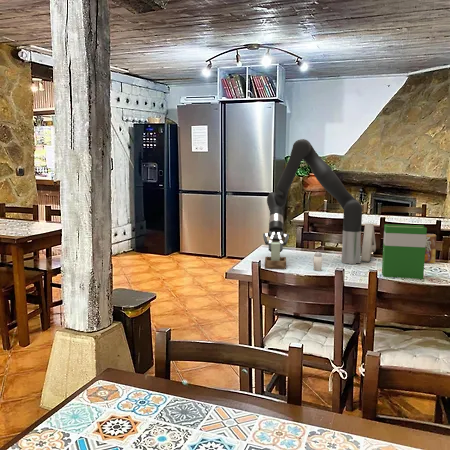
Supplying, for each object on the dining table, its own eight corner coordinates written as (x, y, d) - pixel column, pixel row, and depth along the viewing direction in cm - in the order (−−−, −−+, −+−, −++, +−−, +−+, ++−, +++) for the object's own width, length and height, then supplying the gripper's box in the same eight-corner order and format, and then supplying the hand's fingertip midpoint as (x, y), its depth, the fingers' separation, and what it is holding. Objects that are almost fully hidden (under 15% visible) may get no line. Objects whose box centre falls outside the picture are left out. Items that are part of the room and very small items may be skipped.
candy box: (432, 261, 244) (434, 233, 242) (435, 263, 240) (437, 235, 238) (415, 261, 246) (417, 233, 243) (417, 262, 241) (419, 234, 239)
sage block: (279, 259, 234) (280, 242, 233) (279, 261, 230) (280, 244, 229) (270, 259, 235) (271, 242, 233) (270, 261, 230) (271, 243, 229)
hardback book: (420, 275, 217) (423, 225, 213) (423, 279, 210) (426, 228, 206) (381, 272, 221) (384, 224, 217) (383, 276, 214) (386, 226, 210)
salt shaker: (321, 268, 228) (321, 251, 227) (322, 270, 224) (322, 252, 223) (313, 268, 229) (313, 251, 227) (313, 270, 225) (314, 252, 223)
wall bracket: (372, 280, 266) (369, 260, 241) (364, 280, 268) (360, 260, 243) (375, 246, 275) (373, 224, 250) (368, 246, 277) (365, 223, 252)
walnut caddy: (285, 264, 237) (285, 257, 236) (286, 269, 227) (286, 261, 227) (265, 264, 238) (265, 256, 237) (264, 268, 229) (265, 260, 228)
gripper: (262, 219, 238) (261, 246, 228) (289, 220, 237) (290, 247, 227) (262, 227, 244) (261, 254, 234) (289, 228, 243) (289, 255, 233)
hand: (275, 250), depth 231 cm, fingers closed on sage block, 4 cm apart
